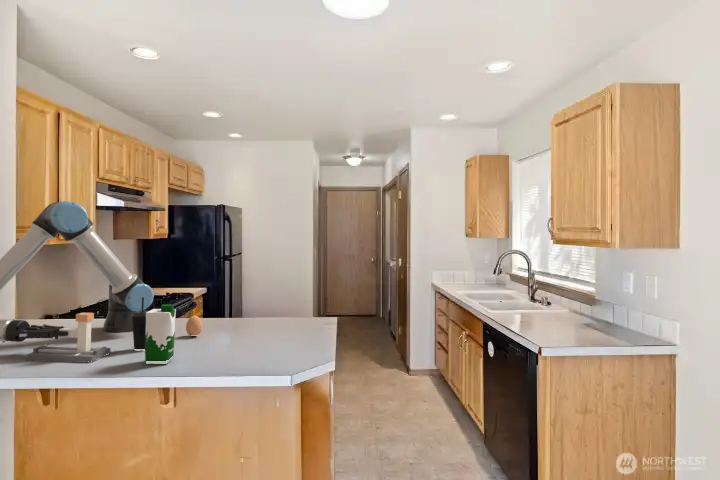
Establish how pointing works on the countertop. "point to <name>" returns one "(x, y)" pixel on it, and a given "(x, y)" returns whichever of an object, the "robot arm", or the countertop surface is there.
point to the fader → (84, 331)
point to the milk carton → (160, 333)
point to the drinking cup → (139, 327)
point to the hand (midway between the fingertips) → (78, 333)
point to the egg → (194, 325)
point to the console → (66, 353)
